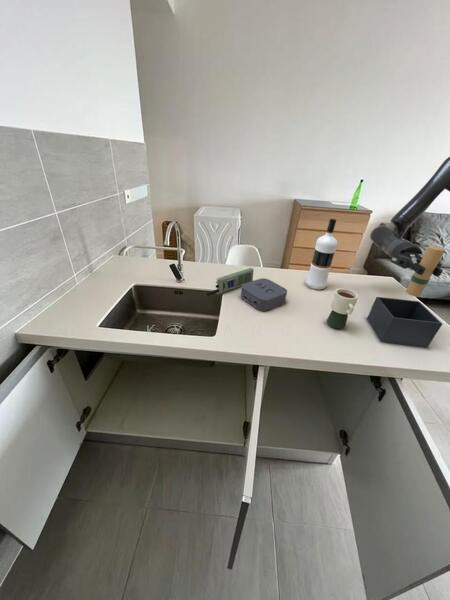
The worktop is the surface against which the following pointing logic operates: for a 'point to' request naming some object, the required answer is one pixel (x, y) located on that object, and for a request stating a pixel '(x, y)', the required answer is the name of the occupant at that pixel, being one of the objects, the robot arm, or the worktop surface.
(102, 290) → the worktop surface
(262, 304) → the streaming box
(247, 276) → the handheld radio
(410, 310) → the bin
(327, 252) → the vodka
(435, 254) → the banded cardboard tube
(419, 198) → the robot arm
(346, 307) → the character mug
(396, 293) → the worktop surface
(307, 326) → the worktop surface
